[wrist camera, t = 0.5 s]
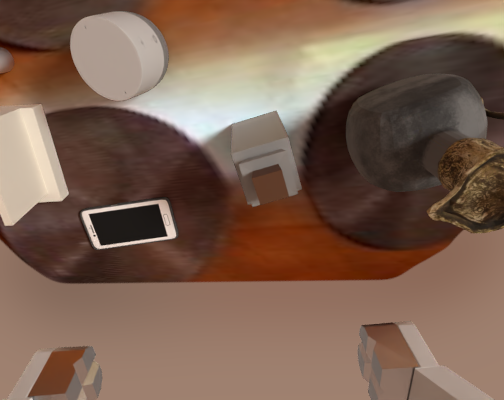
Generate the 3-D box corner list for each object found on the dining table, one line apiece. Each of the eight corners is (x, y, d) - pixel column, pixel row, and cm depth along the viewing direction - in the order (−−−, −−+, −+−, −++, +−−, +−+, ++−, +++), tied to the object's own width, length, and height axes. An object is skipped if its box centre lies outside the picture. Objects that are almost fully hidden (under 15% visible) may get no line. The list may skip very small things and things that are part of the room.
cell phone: (180, 235, 62) (179, 238, 61) (95, 247, 62) (93, 251, 61) (169, 195, 58) (168, 197, 58) (79, 208, 59) (77, 211, 58)
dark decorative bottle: (323, 97, 52) (416, 178, 25) (456, 49, 50) (713, 81, 23) (341, 164, 57) (435, 292, 30) (463, 122, 55) (684, 220, 28)
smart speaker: (86, 32, 47) (32, 36, 35) (147, -2, 46) (114, -11, 33) (127, 99, 51) (92, 124, 39) (185, 69, 50) (168, 85, 37)
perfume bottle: (245, 165, 56) (249, 222, 40) (232, 124, 53) (230, 168, 37) (287, 152, 56) (308, 206, 40) (276, 110, 53) (294, 149, 37)
